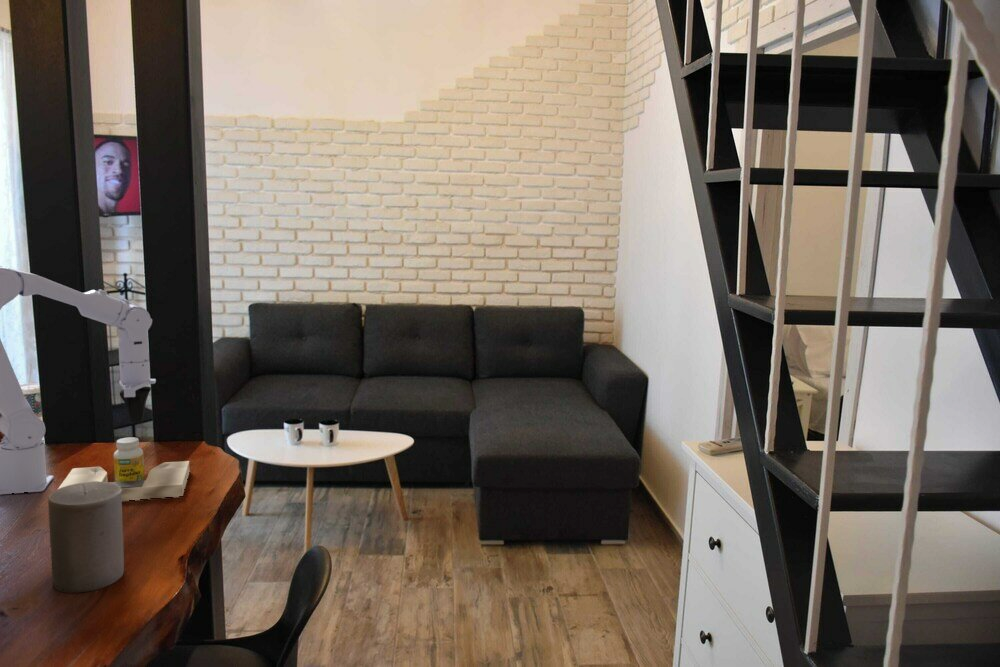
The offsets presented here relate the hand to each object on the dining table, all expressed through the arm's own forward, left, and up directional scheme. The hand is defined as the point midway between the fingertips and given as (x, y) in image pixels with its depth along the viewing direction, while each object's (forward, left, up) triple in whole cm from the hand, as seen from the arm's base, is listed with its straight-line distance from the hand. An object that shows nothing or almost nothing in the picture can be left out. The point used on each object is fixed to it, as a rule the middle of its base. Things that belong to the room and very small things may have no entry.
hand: (136, 421), depth 157 cm
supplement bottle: (0, -13, -10) cm, 17 cm away
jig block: (0, -15, -10) cm, 18 cm away
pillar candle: (+1, -52, -10) cm, 53 cm away
